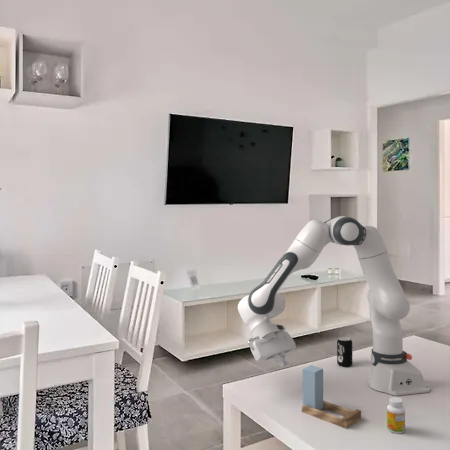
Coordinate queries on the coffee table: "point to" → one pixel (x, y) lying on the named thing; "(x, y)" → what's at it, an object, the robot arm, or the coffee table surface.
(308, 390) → the block
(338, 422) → the brown flat open frame
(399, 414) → the supplement bottle
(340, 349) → the beverage can
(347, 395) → the coffee table surface
